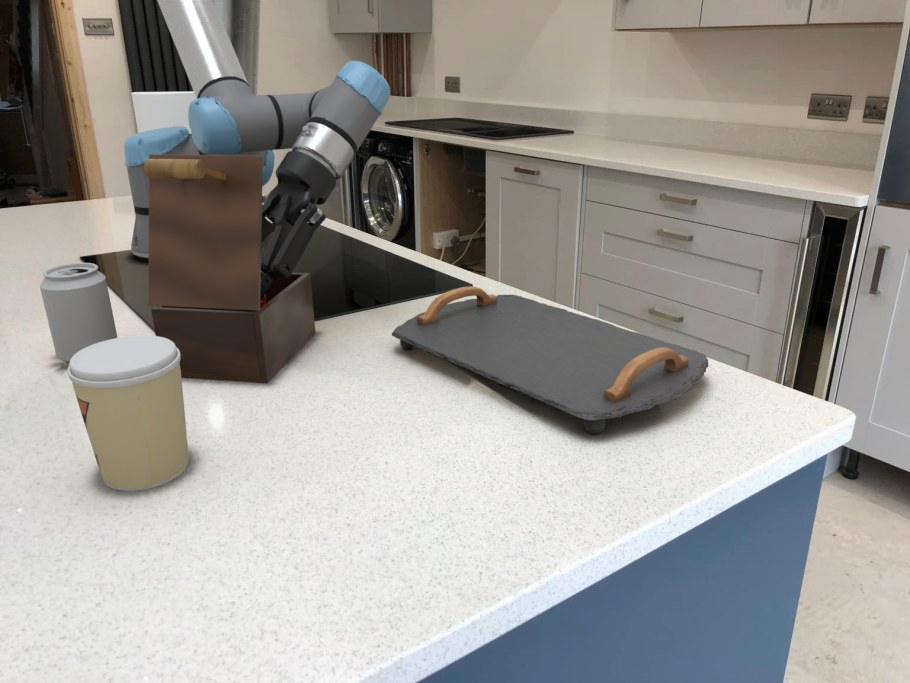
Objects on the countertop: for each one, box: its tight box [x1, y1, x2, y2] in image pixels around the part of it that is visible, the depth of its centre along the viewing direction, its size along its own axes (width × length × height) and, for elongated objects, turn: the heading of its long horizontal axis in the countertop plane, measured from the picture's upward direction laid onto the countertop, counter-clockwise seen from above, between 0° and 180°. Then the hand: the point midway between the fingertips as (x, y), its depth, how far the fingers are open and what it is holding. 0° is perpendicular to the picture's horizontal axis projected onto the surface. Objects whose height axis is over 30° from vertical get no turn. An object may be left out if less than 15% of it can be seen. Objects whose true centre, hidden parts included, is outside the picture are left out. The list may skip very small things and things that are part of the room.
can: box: [39, 262, 119, 365], centre depth 94 cm, size 8×8×12 cm
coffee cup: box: [67, 334, 189, 492], centre depth 68 cm, size 9×9×12 cm
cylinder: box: [130, 91, 197, 134], centre depth 175 cm, size 17×17×28 cm
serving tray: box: [391, 286, 709, 436], centre depth 90 cm, size 39×23×6 cm, turn 42°
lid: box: [144, 154, 263, 311], centre depth 81 cm, size 17×14×8 cm
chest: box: [150, 272, 317, 385], centre depth 94 cm, size 17×14×9 cm
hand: (221, 312), depth 93 cm, fingers closed on beverage cup, 6 cm apart
